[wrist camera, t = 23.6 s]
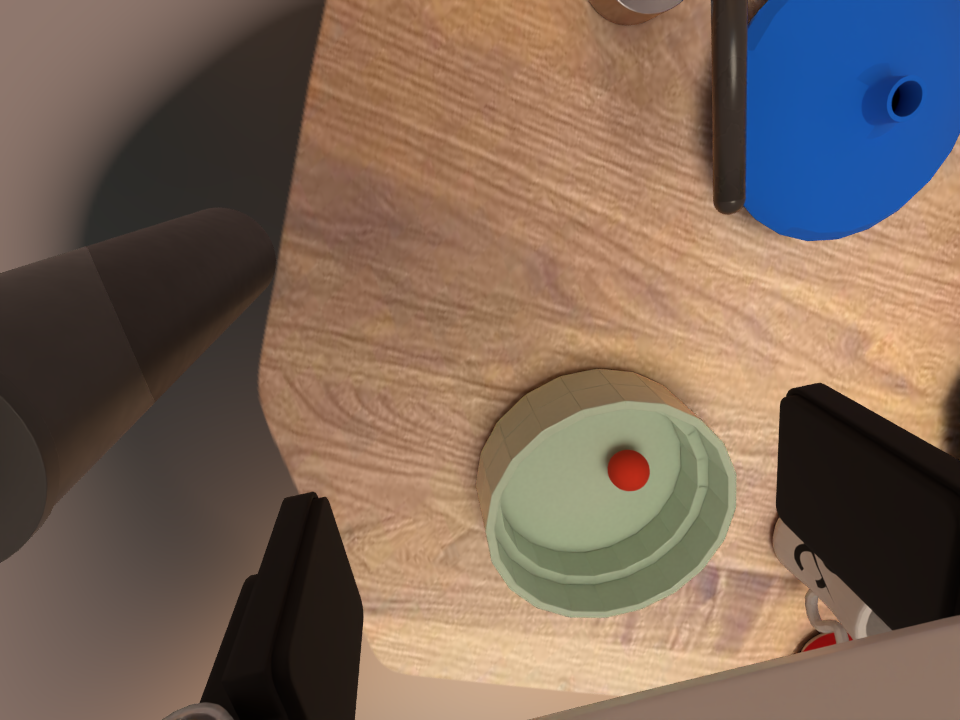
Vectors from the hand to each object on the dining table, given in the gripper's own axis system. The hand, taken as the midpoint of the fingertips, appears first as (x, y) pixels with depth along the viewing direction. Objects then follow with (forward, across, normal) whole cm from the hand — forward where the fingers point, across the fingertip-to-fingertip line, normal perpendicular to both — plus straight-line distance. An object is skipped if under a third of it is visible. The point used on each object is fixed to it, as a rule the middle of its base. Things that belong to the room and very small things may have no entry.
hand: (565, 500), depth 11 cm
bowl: (+26, -7, +18) cm, 33 cm away
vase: (+26, -24, -5) cm, 36 cm away
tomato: (+24, -10, +17) cm, 31 cm away
